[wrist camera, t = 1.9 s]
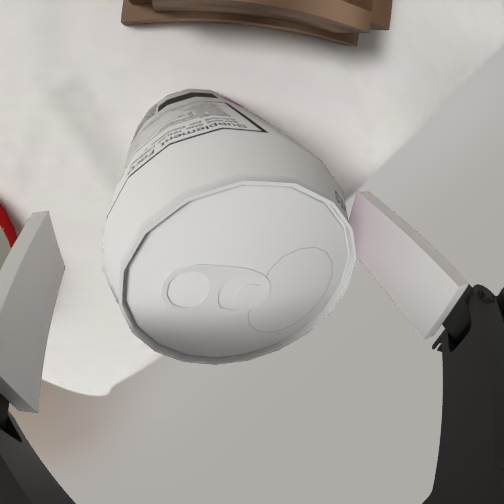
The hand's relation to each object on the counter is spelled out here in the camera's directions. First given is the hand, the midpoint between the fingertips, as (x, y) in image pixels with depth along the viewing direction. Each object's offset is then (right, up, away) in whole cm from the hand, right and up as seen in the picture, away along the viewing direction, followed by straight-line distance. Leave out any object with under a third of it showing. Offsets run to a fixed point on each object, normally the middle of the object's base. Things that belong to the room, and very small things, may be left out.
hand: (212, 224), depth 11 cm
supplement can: (-3, +7, +8) cm, 11 cm away
